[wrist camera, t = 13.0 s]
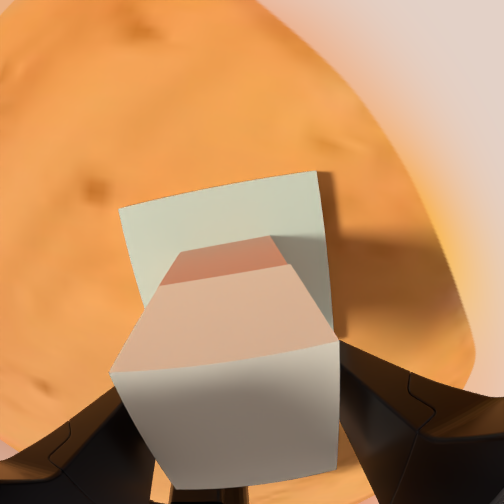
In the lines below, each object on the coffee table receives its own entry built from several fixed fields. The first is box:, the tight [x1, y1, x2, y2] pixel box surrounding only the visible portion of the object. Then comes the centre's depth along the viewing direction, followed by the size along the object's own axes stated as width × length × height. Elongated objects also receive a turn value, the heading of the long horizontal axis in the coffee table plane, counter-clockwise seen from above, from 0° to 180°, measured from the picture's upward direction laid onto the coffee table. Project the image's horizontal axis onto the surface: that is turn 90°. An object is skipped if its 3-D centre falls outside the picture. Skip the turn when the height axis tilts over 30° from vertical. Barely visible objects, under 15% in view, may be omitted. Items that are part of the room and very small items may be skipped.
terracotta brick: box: [157, 235, 288, 289], centre depth 13 cm, size 4×4×5 cm
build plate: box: [118, 171, 334, 332], centre depth 16 cm, size 10×10×1 cm
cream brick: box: [109, 264, 340, 489], centre depth 8 cm, size 4×4×5 cm
